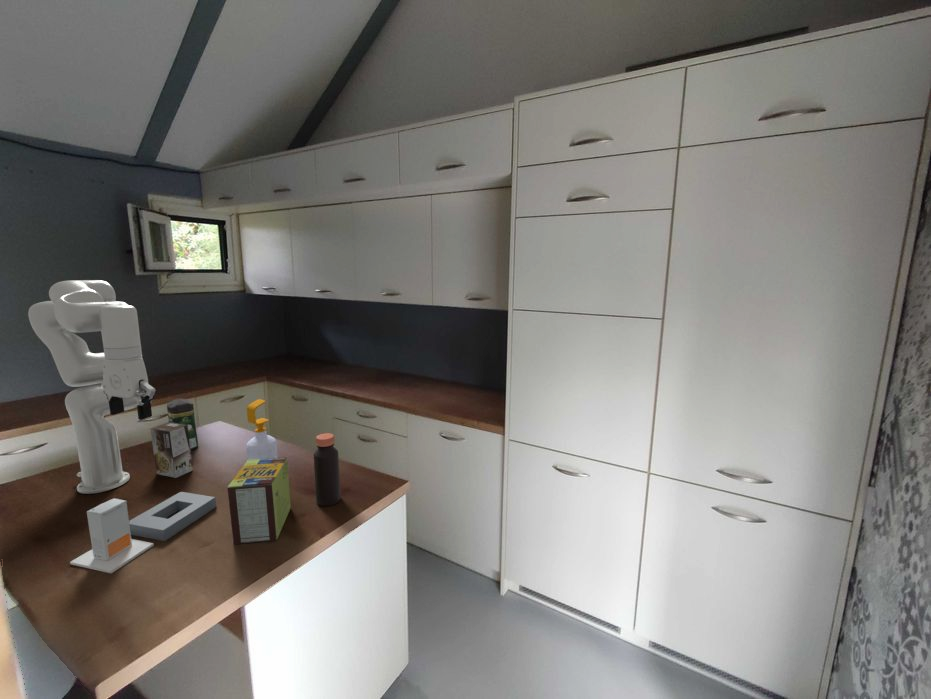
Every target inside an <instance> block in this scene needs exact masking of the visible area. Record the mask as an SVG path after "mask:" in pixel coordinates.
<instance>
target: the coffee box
mask: <svg viewBox="0 0 931 699" xmlns="http://www.w3.org/2000/svg"><path fill="white" fill-rule="evenodd" d="M149 430H150V437H151V443H152V450H153V457H154V465H155V470H156V475H159V476H165V477H170V478H174V479H177V478H179V477H181V476H184V475H185V474H188V473H190V472H193V470H194V468H193V459H192V452H191V450H192V449H191V450H190V442H189V434H188V425H185V424H178V423H171V422H169V421H168V422H165V423H160V424H159V425H156V426H154V427H151V428H150V429H149Z"/></svg>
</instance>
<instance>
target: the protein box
mask: <svg viewBox="0 0 931 699" xmlns="http://www.w3.org/2000/svg"><path fill="white" fill-rule="evenodd" d="M288 464H289V463H288V457H278V458H270V459H253V460H248V459H247V460H246V462H245V463H244V465H243V466H242V467H241V469H240V470H239V471H238V472H237V474H236V475H235V476H234V477H233V479H232V480H231V482H230V483H229V484H228V485H227V497H228V505H229V515H230V516H229V517H230V524H231V525H230V526H231V533H232V542H233V545H241V544H250V543H251V544H252V543H259V542H261V543H262V542H271V541H277V540H278V538H279V536H280V534H281V531H282V529H283V527H284V524H285V522H286V519H287V518H288V515H289V513H290V510H291V506H292V505H291V491H290V490H291V489H290V479H289V467H288Z"/></svg>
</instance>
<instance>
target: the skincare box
mask: <svg viewBox="0 0 931 699" xmlns="http://www.w3.org/2000/svg"><path fill="white" fill-rule="evenodd" d="M127 503H128V502H127V500H123V499H120V498H112V499H109V500H107V501H105V502H103V503H100V504H98V505H97V506H95V507H93V508H90V509H89V510H87V511H86V515H87V517H86V518H87V524H88V530H89V537H90V542H91V550H93V557H94V558H96V559H101V560H105V561H108V560H109V559H111V558H112V557H114V556H116V555H117V554H119V553H120V552H122V551H124V550H126V549H127V548H129V547H131V546H132V540H131V539H132V535H131V532H130V525H129V521H130V520H129V519H130V518H129V511H128V510H129V509H128V504H127Z"/></svg>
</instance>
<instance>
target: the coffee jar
mask: <svg viewBox="0 0 931 699" xmlns="http://www.w3.org/2000/svg"><path fill="white" fill-rule="evenodd" d="M194 406H195V405H194V403H193V402H192V401H191V400H190V399H189V400H188V399H187V398H186V399H185V398H176V399H171V400H170V401H169V402H168V403H167V404H166V409H167V410H166V411H167V420H168V422H171V423H178V424H185V425H188V434H189V442H190V450H193V449H195V448H198V445H199V441H198V432H197V426H196V425H197V424H196V418H195V416H196V415H195V407H194Z"/></svg>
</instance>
